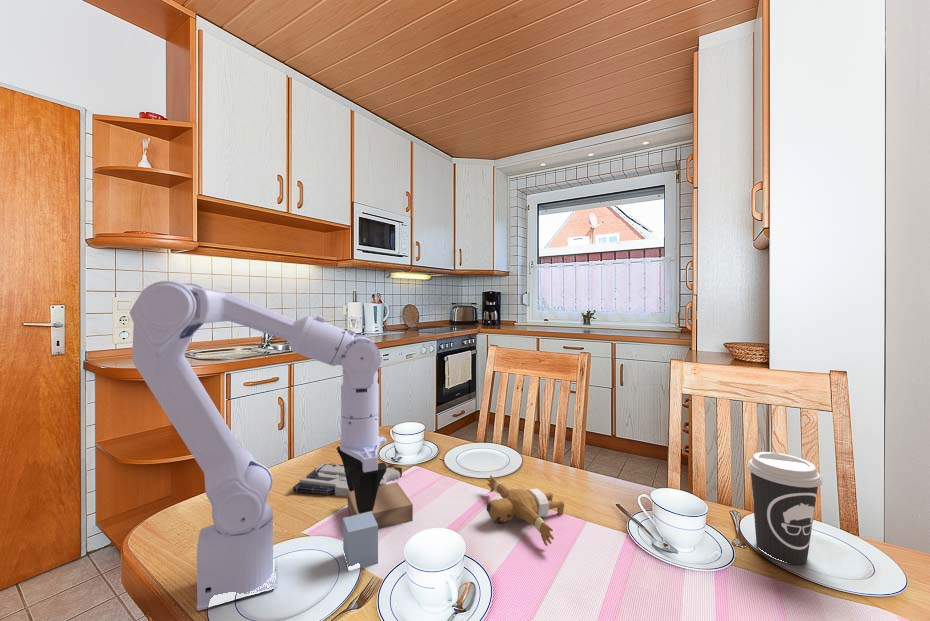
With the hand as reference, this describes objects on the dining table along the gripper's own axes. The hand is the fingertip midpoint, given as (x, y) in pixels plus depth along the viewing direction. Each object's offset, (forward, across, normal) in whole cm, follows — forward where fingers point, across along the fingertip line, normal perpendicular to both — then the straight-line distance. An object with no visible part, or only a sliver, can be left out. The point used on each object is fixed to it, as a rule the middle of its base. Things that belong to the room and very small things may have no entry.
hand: (360, 499), depth 63 cm
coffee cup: (+10, -28, -62) cm, 69 cm away
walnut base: (+9, +12, -6) cm, 16 cm away
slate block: (+10, 0, 0) cm, 10 cm away
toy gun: (+10, +28, -4) cm, 30 cm away
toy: (+10, -1, -30) cm, 32 cm away
